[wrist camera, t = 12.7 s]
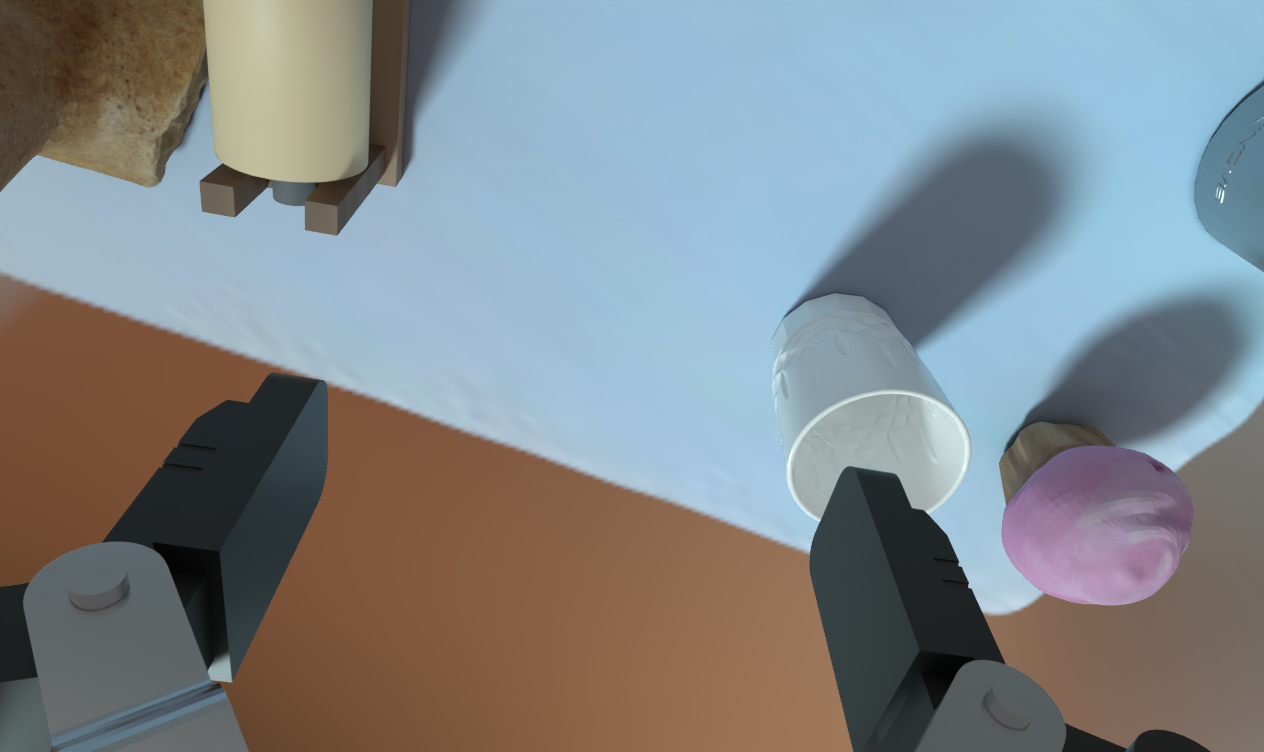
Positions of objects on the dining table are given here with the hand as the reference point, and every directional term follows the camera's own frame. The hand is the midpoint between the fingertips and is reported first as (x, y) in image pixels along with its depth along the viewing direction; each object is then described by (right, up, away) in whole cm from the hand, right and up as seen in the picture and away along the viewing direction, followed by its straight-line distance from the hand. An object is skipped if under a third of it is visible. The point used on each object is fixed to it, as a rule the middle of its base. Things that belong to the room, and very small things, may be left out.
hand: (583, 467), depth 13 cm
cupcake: (+24, -3, +35) cm, 43 cm away
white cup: (+11, +3, +32) cm, 34 cm away
